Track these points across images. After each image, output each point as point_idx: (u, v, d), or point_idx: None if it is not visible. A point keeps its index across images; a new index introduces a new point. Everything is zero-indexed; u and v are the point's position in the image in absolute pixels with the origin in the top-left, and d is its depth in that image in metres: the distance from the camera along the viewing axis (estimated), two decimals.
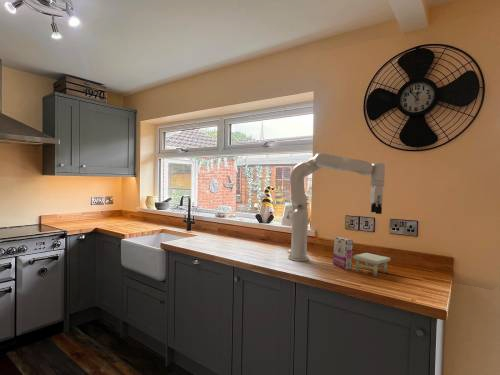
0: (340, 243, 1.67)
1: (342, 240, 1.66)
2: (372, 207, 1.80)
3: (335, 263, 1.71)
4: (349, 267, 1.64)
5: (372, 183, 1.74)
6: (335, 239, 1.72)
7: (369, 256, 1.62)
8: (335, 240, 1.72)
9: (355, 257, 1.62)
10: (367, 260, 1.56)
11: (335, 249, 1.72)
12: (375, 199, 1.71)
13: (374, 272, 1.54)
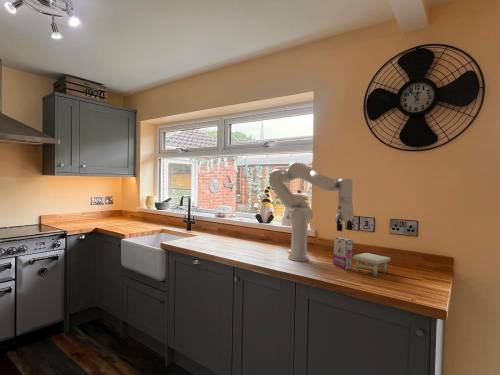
0: (340, 243, 1.67)
1: (342, 240, 1.66)
2: None
3: (335, 263, 1.71)
4: (349, 267, 1.64)
5: None
6: (335, 239, 1.72)
7: (369, 256, 1.62)
8: (335, 240, 1.72)
9: (355, 257, 1.62)
10: (367, 260, 1.56)
11: (335, 249, 1.72)
12: None
13: (374, 272, 1.54)
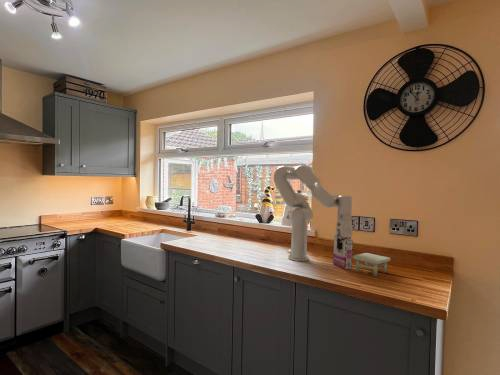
0: None
1: (342, 240, 1.66)
2: None
3: (335, 263, 1.71)
4: (349, 266, 1.64)
5: None
6: (335, 239, 1.72)
7: (369, 256, 1.62)
8: (335, 240, 1.72)
9: (355, 257, 1.62)
10: (367, 260, 1.56)
11: (335, 249, 1.72)
12: None
13: (374, 272, 1.54)
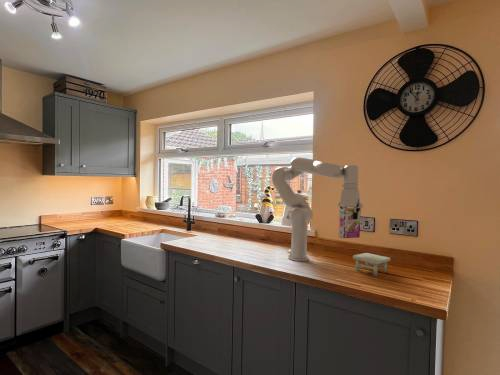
0: None
1: None
2: None
3: None
4: (341, 235, 1.65)
5: (350, 186, 1.64)
6: None
7: (369, 256, 1.62)
8: None
9: (355, 257, 1.62)
10: (367, 260, 1.56)
11: None
12: (355, 203, 1.62)
13: (374, 272, 1.54)
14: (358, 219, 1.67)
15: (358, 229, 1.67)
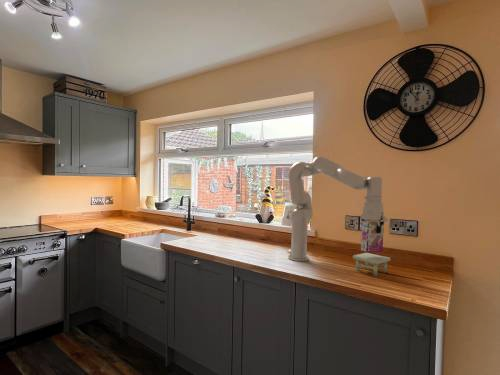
0: None
1: None
2: None
3: None
4: (364, 249, 1.60)
5: (374, 199, 1.58)
6: None
7: (369, 256, 1.62)
8: None
9: (355, 257, 1.62)
10: (367, 260, 1.56)
11: None
12: (379, 217, 1.57)
13: (374, 272, 1.54)
14: (381, 233, 1.61)
15: (381, 243, 1.61)
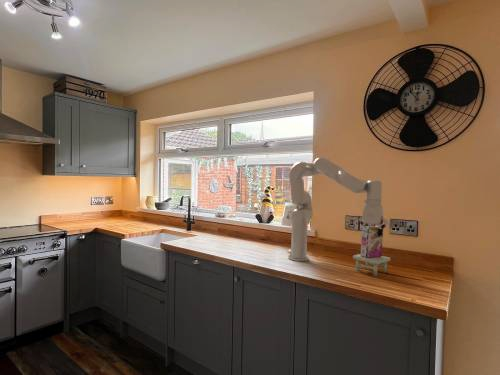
0: None
1: None
2: None
3: None
4: (363, 254, 1.59)
5: (373, 202, 1.58)
6: None
7: None
8: None
9: (355, 257, 1.62)
10: (367, 260, 1.56)
11: None
12: (379, 221, 1.57)
13: (374, 272, 1.54)
14: (380, 238, 1.61)
15: (380, 248, 1.62)
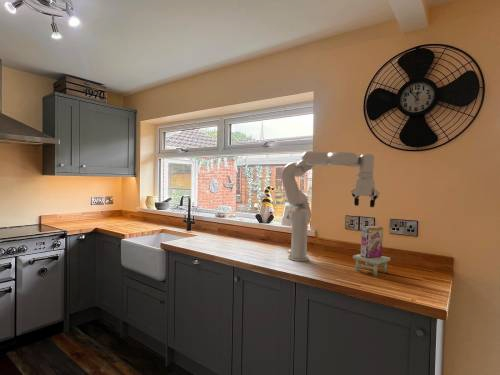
0: None
1: None
2: (356, 200, 1.71)
3: None
4: (363, 254, 1.59)
5: (365, 175, 1.65)
6: None
7: None
8: None
9: (355, 257, 1.62)
10: (367, 260, 1.56)
11: None
12: (370, 192, 1.63)
13: (374, 272, 1.54)
14: (380, 238, 1.61)
15: (380, 248, 1.62)
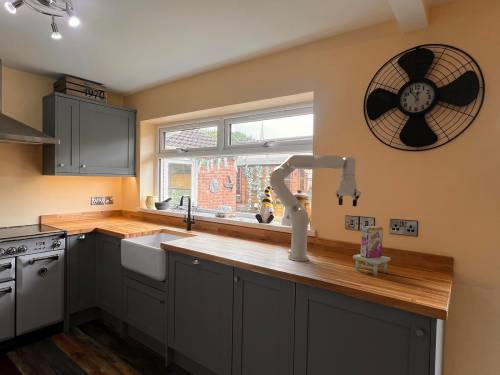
0: None
1: None
2: (340, 200, 1.84)
3: None
4: (363, 254, 1.59)
5: (348, 177, 1.77)
6: None
7: None
8: None
9: (355, 257, 1.62)
10: (367, 260, 1.56)
11: None
12: (353, 193, 1.76)
13: (374, 272, 1.54)
14: (380, 238, 1.61)
15: (380, 248, 1.62)
